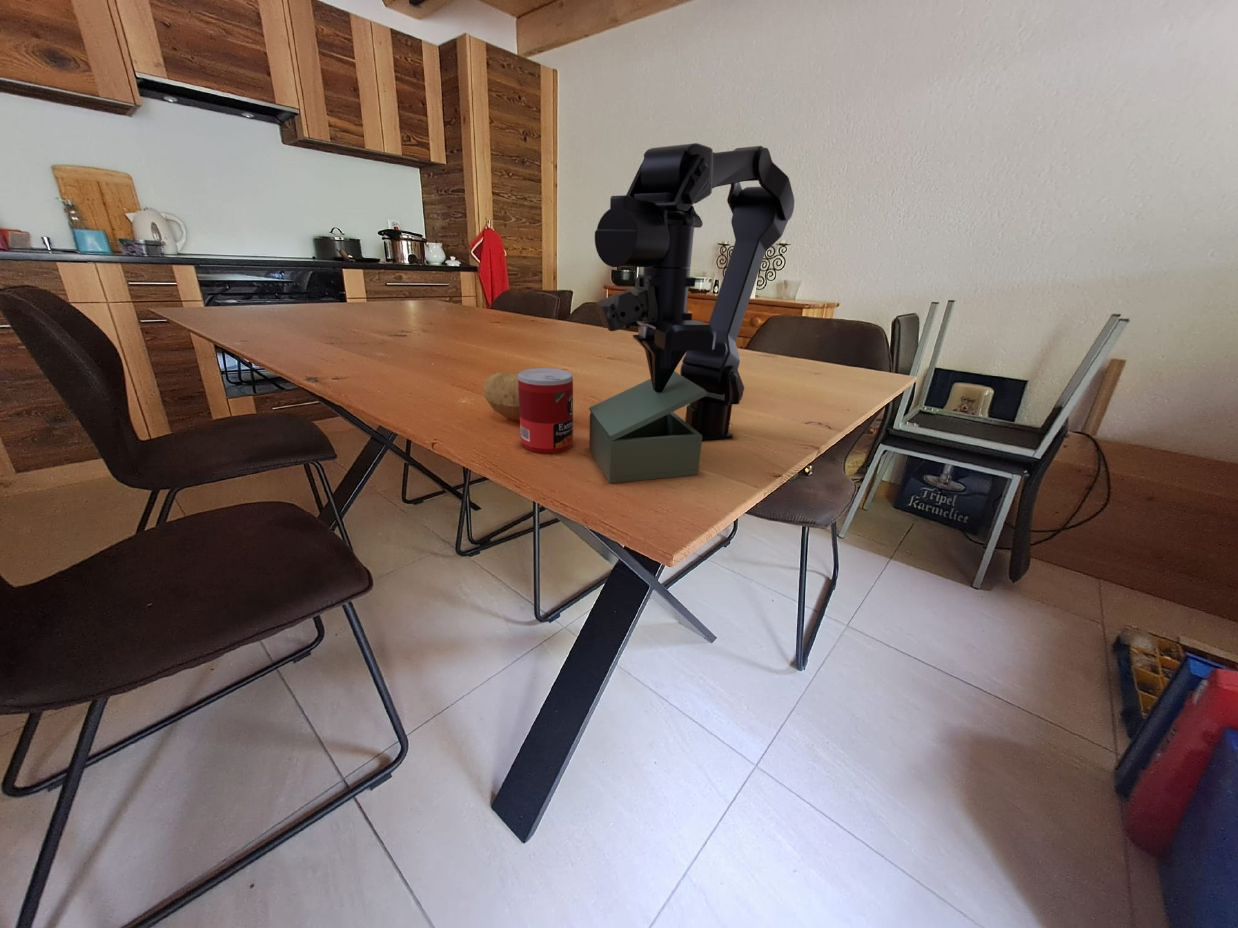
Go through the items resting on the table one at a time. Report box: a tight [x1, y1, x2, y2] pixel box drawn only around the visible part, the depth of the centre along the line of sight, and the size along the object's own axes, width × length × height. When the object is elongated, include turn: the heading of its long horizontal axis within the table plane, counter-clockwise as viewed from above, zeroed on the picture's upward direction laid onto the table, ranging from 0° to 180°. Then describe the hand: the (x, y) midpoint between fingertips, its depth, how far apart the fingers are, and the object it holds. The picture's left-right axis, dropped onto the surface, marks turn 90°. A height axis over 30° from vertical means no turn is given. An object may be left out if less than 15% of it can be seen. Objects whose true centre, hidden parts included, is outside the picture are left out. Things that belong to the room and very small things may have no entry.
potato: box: [482, 372, 520, 423], centre depth 81 cm, size 10×14×8 cm
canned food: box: [517, 367, 574, 455], centre depth 70 cm, size 8×8×11 cm
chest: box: [588, 411, 703, 484], centre depth 67 cm, size 13×12×6 cm
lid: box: [588, 370, 707, 441], centre depth 64 cm, size 14×12×1 cm
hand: (657, 391), depth 64 cm, fingers closed, pressing on lid
